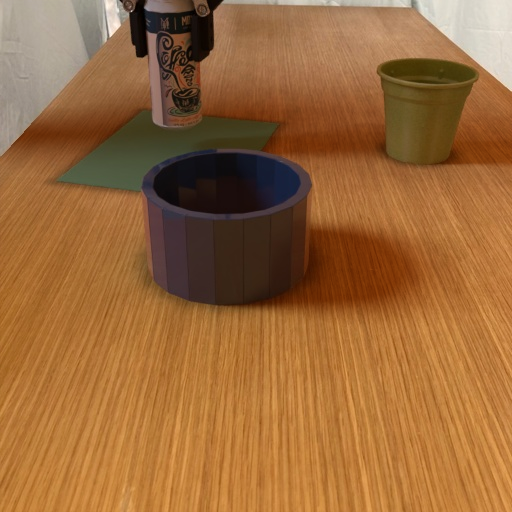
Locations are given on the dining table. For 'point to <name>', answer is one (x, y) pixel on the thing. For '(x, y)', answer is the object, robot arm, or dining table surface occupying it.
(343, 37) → the dining table surface
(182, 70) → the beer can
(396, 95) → the plant pot
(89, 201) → the dining table surface
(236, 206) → the pot
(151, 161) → the mat
